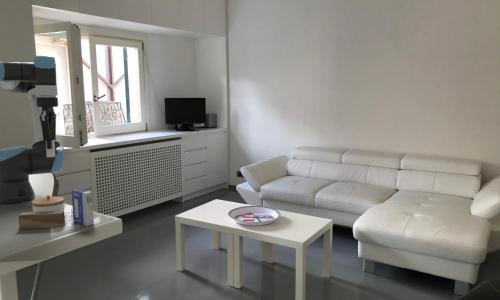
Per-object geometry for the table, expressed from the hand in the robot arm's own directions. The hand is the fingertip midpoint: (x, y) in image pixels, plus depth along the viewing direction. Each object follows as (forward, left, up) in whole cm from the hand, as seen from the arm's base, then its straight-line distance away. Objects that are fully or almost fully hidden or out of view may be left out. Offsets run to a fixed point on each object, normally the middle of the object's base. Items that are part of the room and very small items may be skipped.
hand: (51, 156), depth 159 cm
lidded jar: (+15, +3, -22) cm, 27 cm away
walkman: (+20, +16, -22) cm, 34 cm away
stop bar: (+23, +3, -22) cm, 31 cm away
